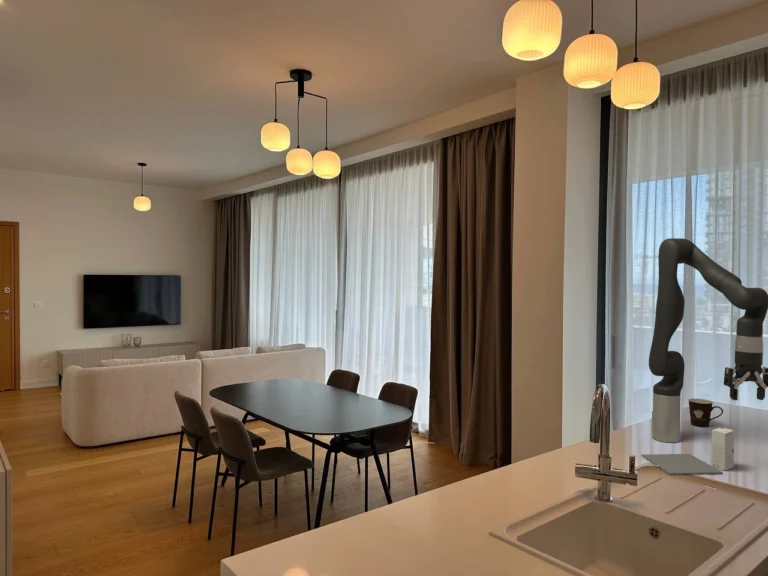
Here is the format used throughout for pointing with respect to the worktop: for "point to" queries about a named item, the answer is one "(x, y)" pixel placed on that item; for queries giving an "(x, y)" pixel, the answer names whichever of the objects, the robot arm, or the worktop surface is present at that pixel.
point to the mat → (681, 464)
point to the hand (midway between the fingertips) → (747, 399)
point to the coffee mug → (701, 412)
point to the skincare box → (723, 448)
